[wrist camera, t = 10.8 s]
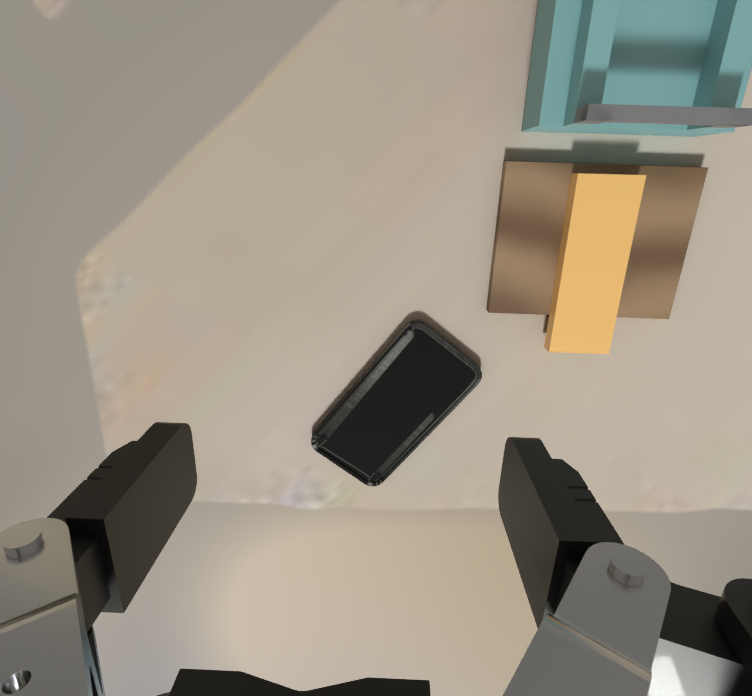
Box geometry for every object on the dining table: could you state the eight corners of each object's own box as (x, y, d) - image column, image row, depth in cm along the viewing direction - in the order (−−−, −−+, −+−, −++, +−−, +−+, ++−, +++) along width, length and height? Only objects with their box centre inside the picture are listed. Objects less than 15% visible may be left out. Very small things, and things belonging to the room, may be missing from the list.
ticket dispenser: (544, -45, 29) (593, -115, 22) (737, -40, 29) (850, -109, 22) (521, 131, 33) (558, 119, 26) (694, 136, 33) (779, 125, 25)
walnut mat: (503, 161, 33) (506, 161, 33) (701, 167, 33) (708, 167, 32) (486, 309, 37) (488, 312, 36) (663, 316, 37) (668, 319, 36)
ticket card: (571, 173, 33) (578, 173, 32) (637, 175, 33) (646, 175, 32) (544, 346, 37) (549, 351, 36) (602, 348, 37) (608, 353, 36)
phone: (305, 444, 41) (415, 317, 37) (307, 437, 42) (414, 313, 38) (375, 491, 43) (488, 375, 38) (375, 483, 44) (486, 369, 39)
